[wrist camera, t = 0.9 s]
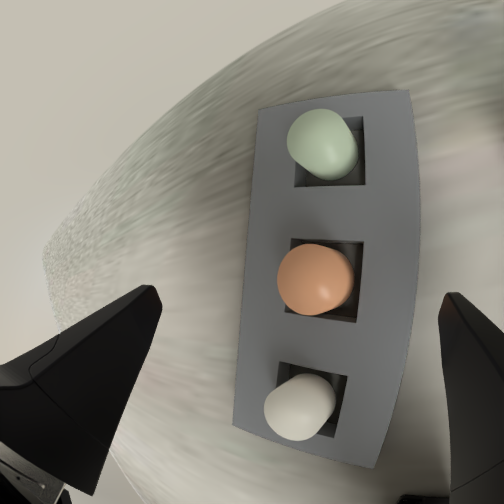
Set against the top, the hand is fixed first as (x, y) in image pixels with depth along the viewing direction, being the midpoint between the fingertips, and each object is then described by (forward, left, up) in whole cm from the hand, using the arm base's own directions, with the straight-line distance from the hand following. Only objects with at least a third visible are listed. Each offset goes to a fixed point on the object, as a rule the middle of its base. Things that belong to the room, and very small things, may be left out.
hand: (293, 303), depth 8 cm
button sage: (+9, +3, -10) cm, 14 cm away
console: (0, +3, -12) cm, 12 cm away
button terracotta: (0, +3, -10) cm, 11 cm away
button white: (-8, +3, -10) cm, 14 cm away
